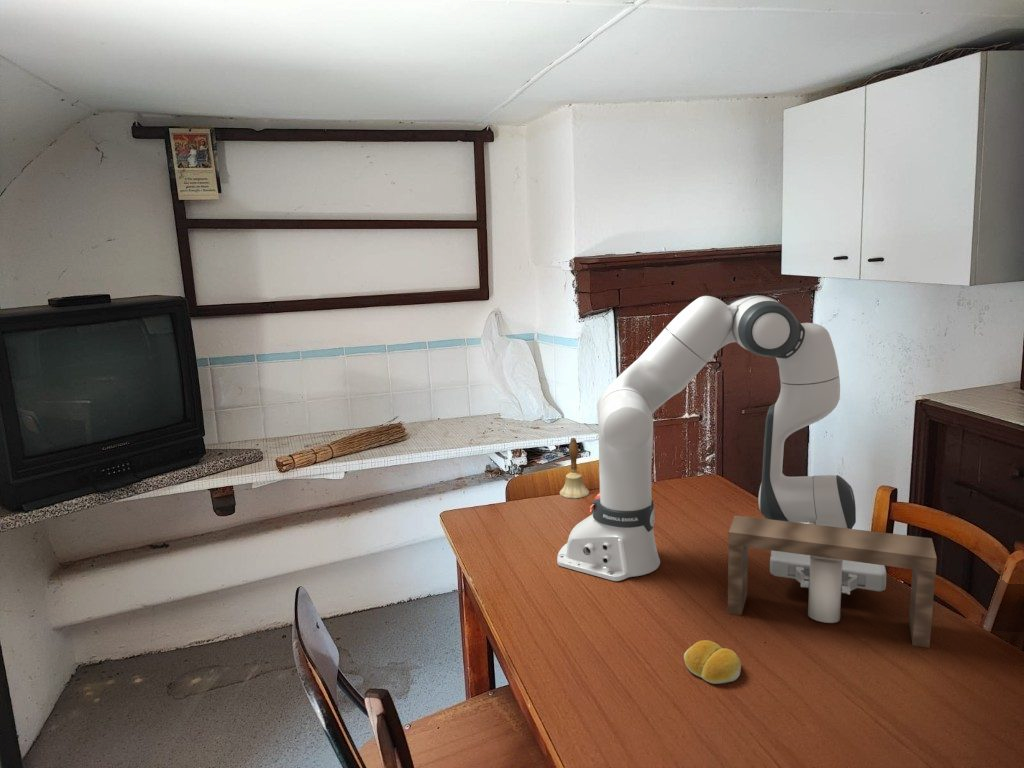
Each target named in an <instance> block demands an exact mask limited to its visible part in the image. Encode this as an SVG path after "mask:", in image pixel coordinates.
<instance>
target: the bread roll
mask: <svg viewBox="0 0 1024 768" xmlns="http://www.w3.org/2000/svg"><path fill="white" fill-rule="evenodd" d="M683 659H684V663H685V666H686V668H687V669H688V670H689V671H690V673H691V674H694V675H695V676H696V677H699V678H701V679H703V680H704V681H706V682H708V683H710V684H715V685H718V684H719V685H721V684H727V683H731V682H734V681H736V680H737V679H738V678H739V677H740V675H741V669H742V663H741V660H740V658H739V656H738V655H737V653H736V652H735V651H733V649H730V648H727V647H726V648H723V647H721V646H720V645H719V644H718V643H716V642H714V641H712V640H709V639H708V640H707V639H706V640H705V639H703V640H699V641H697V642H695V643H694V644H693V645H691V646H690V647H688V649H686V651H685V652H684V654H683Z"/></svg>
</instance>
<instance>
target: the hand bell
mask: <svg viewBox="0 0 1024 768" xmlns="http://www.w3.org/2000/svg"><path fill="white" fill-rule="evenodd" d="M568 454H569V458H570V472H568V473H567V474H566V475H565V481H564V485H563V487H562V488H561V489H560V491H559V495H560V496H561V497H563V498H566V499H581V498H586V497H587V496H589V495H590V491H589V488H587V486H585V483H584V480H583V475H582V473H580V472H578V470H577V469H578V464H577V463H578V462H577V459H578V455H579V446H578V442H577V439H576V438H575V437H571V438H570V442H569V445H568Z"/></svg>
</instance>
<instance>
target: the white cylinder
mask: <svg viewBox="0 0 1024 768" xmlns="http://www.w3.org/2000/svg"><path fill="white" fill-rule="evenodd" d="M842 564H843V560H840V559H832V558H825V557H817V556H810V576H809V588H808V603H807V605H808V606H807V607H808V608H807V616H808V617H809V618H811V619H812V620H815V621H816V622H819V623H820V622H821V623H826V624H827V623H828V624H834V623H838V622H839V621H840V620H841V608H842V607H841V603H842V593H841V586H842Z"/></svg>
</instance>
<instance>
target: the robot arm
mask: <svg viewBox="0 0 1024 768" xmlns="http://www.w3.org/2000/svg"><path fill="white" fill-rule="evenodd" d="M731 343H737V344H738V345H739V346H741V348H743V349H744V350H746V351H749V353H752V354H753V355H757V356H761V357H767V358H775V359H776V364H777V365H778V371H779V381H780V392H779V395H778V397H777V400H776V402H775V403H773V404H771V405H769V408H768V410H767V412H766V418H765V426H764V427H765V428H764V438H763V450H762V451H763V452H762V453H763V456H762V470H761V483H760V486H759V490H758V507H759V510H760V511H759V512H760V514H761V515H762V516H763V517H764V519H771V520H779V521H788V522H796V523H805V524H807V523H808V524H814V525H822V526H831V527H839V528H848V529H854V527H855V524H856V523H857V521H856V519H857V515H856V514H857V511H856V510H857V509H856V499H855V494H854V490H853V488H852V486H851V485H850V483H849V482H847V481H846V479H844V478H843V477H841V476H840V475H838V474H837V475H836V474H833V475H831V474H827V475H820V474H819V475H808V476H806V475H804V476H803V475H802V476H801V475H800V476H786V475H785V474H784V473H783V463H784V461H783V460H784V448H785V447H784V446H785V441H786V440H787V439H788V437H789V436H791V435H792V434H794V433H795V432H797V431H799V430H801V429H804V428H806V427H807V426H810V425H812V424H815V423H818V422H819V421H821V420H823V419H824V418H826V417H828V415H830V414H831V413H832V412H833V411H834V410H835V409H836V408H837V405H838V404H839V402H840V400H841V399H840V398H841V380H840V370H839V365H838V359H837V354H836V350H835V347H834V343H833V341H832V338H831V335H830V332H829V330H828V329H826V328H825V327H824V326H822V325H821V324H818V323H814V322H802V323H801V322H800V321H799V320H798V319H797V317H796V315H794V313H793V312H792V310H790V309H789V307H787V306H786V305H784V304H782V303H781V302H780V301H778V300H776V299H775V298H773V297H770V296H765V295H761V294H748V295H745V296H742V297H738V298H736V299H734V300H731V301H728V302H724V301H723V300H721V299H719V298H717V297H716V296H710V295H702V296H699V297H698V298H696V299H695V300H693V301H691V302H690V303H689V304H688V305H687V306H686V307H685V308H683V309H682V310H681V311H680V312H679V313H678V314H676V316H675V317H674V318H673V319H672V320H671V321H670V322H669V323H668V324H667V325H666V326H665V327H664V329H663V330H662V331H661V332H660V333H659V334H658V336H657V337H656V338H655V339H654V340H653V341H652V342H651V344H650V345H649V346H648V347H647V348H646V349H645V351H644V352H642V354H641V355H640V356H639V357H638V358H637V359H636V360H634V362H633V363H632V364H630V365H629V366H628V367H627V368H626V369H625V370H623V371H622V372H621V374H620V375H618V376H617V377H616V378H615V379H614V380H613V381H612V383H610V384H609V386H607V387H606V388H605V389H604V390H603V391H602V392H601V394H600V396H599V397H598V399H597V404H596V406H597V408H596V410H597V428H598V473H599V475H598V476H599V478H598V479H599V493H597V494H596V496H595V497H594V500H593V501H592V503H591V505H590V507H589V513H590V514H591V515H589V516H587V517H586V518H583V520H581V521H580V522H578V523H577V524H576V525H575V526H574V527H573V528H572V530H571V531H570V532H569V536H568V539H567V543H565V544H564V545H562V547H561V548H560V550H559V551H558V553H557V557H556V560H557V561H556V562H557V565H558V566H560V567H562V568H566V569H570V570H573V571H577V572H580V573H585V574H587V575H591V576H596V577H598V578H602V579H606V580H609V581H613V582H620V581H623V580H626V579H628V578H632V577H633V578H634V577H639V576H644V575H647V574H650V573H653V572H654V571H656V570H657V569H658V568H659V566H660V564H661V559H660V556H659V554H658V553H659V552H658V549H657V545H656V539H655V533H654V527H655V521H656V520H655V505H654V500H653V498H652V495H653V494H652V461H653V460H652V459H653V444H654V417H653V414H654V413H655V412H656V411H657V409H659V408H660V407H661V406H663V405H664V404H665V403H666V402H667V401H668V400H670V399H671V398H673V397H675V395H678V394H679V393H681V392H682V391H683V390H684V389H685V388H686V387H687V386H688V385H689V384H690V382H692V380H693V379H694V378H695V377H696V376H697V375H698V374H699V373H700V371H701V370H702V369H703V368H704V367H706V364H707V363H709V361H711V359H712V358H713V357H714V356H715V355H716V353H717V352H718V351H720V350H721V349H722V348H723V347H724V346H727V345H728V344H731ZM769 573H770V574H771V575H773V576H774V577H780V578H788V579H793V580H794V579H795V580H796V581H797V582H798V583H799V584H800V588H803V589H809V576H810V555H803V554H795V553H788V552H780V551H773V550H770V558H769ZM886 587H887V571H886V566H885V565H877V564H870V563H862V562H855V561H847V560H843V564H842V586H841V594H845V595H851V592H852V591H854V590H856V589H861V590H869V591H874V592H883V591H885V590H886V589H887V588H886Z"/></svg>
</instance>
